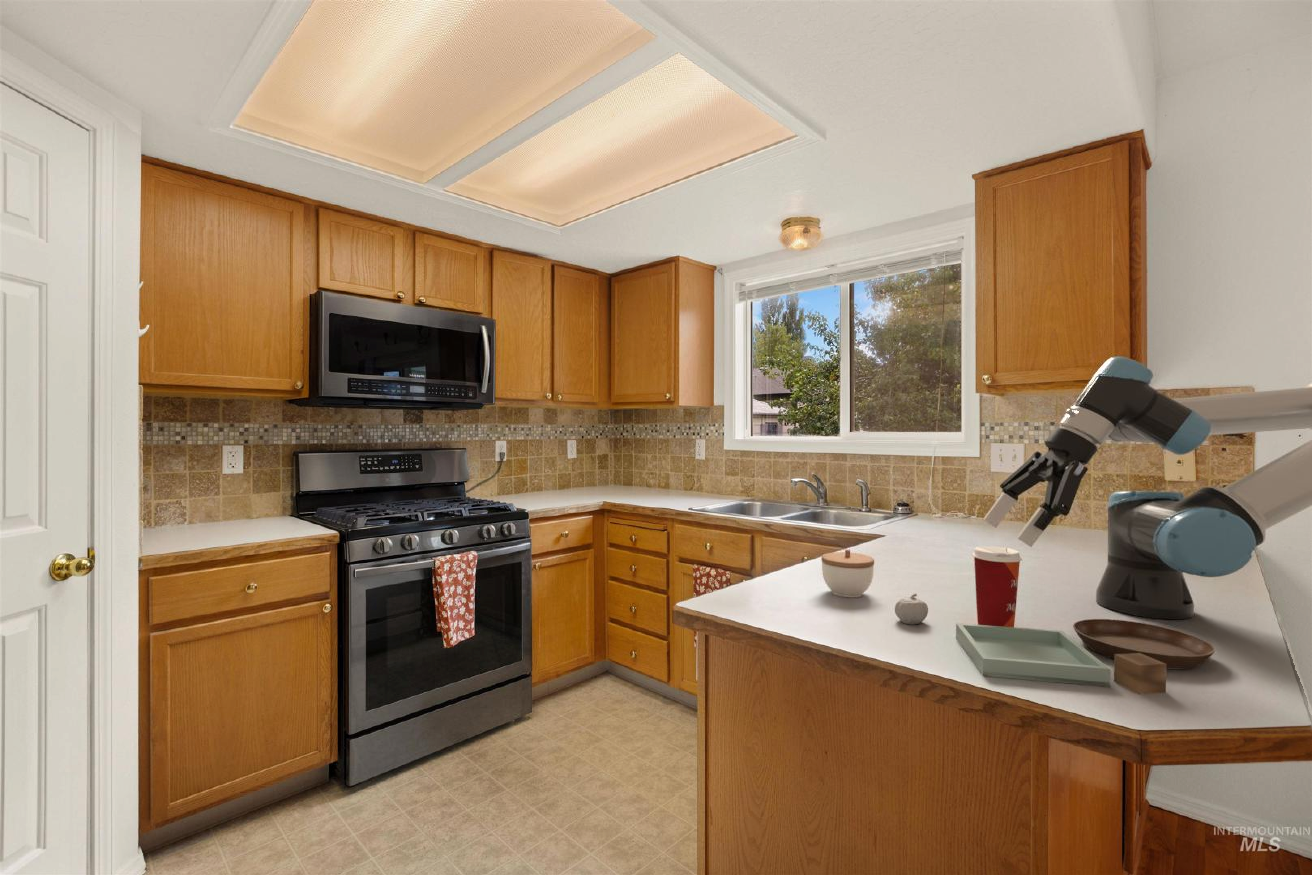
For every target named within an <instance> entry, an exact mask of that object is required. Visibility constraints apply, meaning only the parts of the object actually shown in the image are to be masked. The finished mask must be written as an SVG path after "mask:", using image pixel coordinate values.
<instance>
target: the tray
mask: <svg viewBox="0 0 1312 875" xmlns="http://www.w3.org/2000/svg"><path fill="white" fill-rule="evenodd" d="M955 638H956V640H957V642H958V643H959V644H960V645H961V647H962V648H963V650H964V651H965V653H966V655H967V656H968V657H969V658H970V659H971V661H972V662H973V664H974V665H975V667H976V668H977V669H978V671H979V672H980V674H981V675H982V676H983V677H993V678H1004V679H1005V678H1006V679H1014V680H1016V679H1018V680H1028V681H1038V682H1039V681H1041V682H1050V683H1063V684H1070V685H1071V684H1073V685H1083V686H1084V685H1085V686H1094V687H1106V688H1107V687H1108V688H1110V687H1111V685H1110V684H1111V683H1110V682H1111V668H1110V667H1108V666H1107V665H1106V664H1105V663H1103V662H1102V661H1101V660H1100V659H1099V658H1097V657H1096V656H1094V655H1093V654H1092V653H1091V652H1089V651H1088V650H1087V649H1086V648H1085V647H1084V646H1082V645H1081V644H1079V642H1077V641H1076V640H1074V639H1073V638H1072V637H1071V636H1070V635H1069V634H1067V633H1066V632H1064V631H1063V630H1059V629H1058V630H1056V629H1040V628H1027V627H1015V626H1014V627H1002V626H988V625H978V624H970V623H969V624H968V623H957V622H956V623H955Z"/></svg>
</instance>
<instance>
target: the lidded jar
mask: <svg viewBox="0 0 1312 875" xmlns="http://www.w3.org/2000/svg"><path fill="white" fill-rule="evenodd" d="M820 560H821V571H822V577H823V581H824V583H825V584H826V586H827V588H828V589H829V590H830V591H831V592H832V594H833V595H835V596H837V597H843V598H859V597H862V596H863V594H864V593H865V592H866V591H867V590H868V589H869V587H870V586H871V585H872V582H873V577H874V565H875V558H873V557H872V556H870V555H866V554H862V553H856V552H851V549H847V548H846V549H845V550H844V551H834V552H827V553H823V554H822V555H821V559H820Z"/></svg>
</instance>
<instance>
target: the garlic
mask: <svg viewBox="0 0 1312 875" xmlns="http://www.w3.org/2000/svg"><path fill="white" fill-rule="evenodd" d="M917 596H918V594H917V593H912V595H911V596H910V597H908V596H905V597H903V598H901V599H899V600H898V601H897V602H896V604H895V606H894V613H895V615H896V617H897V618H898V619H899V621H900V622H902V623H904V624H905V625H917V624H922V622H924V620H926V618H927V616H928V613H929V607H928V605H927V603H926V602H925V601H924V600H921V599H918V598H916V597H917Z"/></svg>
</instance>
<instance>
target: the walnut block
mask: <svg viewBox="0 0 1312 875" xmlns="http://www.w3.org/2000/svg"><path fill="white" fill-rule="evenodd" d="M1113 682H1114V683H1116V684H1118V685H1119V686H1121V687H1124V688H1125V689H1127V690H1129V691H1132V692H1134V693H1136V694H1138V695H1149V694H1150V695H1151V694H1152V695H1153V694H1166V693H1167V669H1166V664H1165V663H1163V662H1160V661H1158V660H1155V659H1153V658H1151V657H1148V656H1146V655H1143V654H1141V653H1131V654H1114V659H1113Z"/></svg>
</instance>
